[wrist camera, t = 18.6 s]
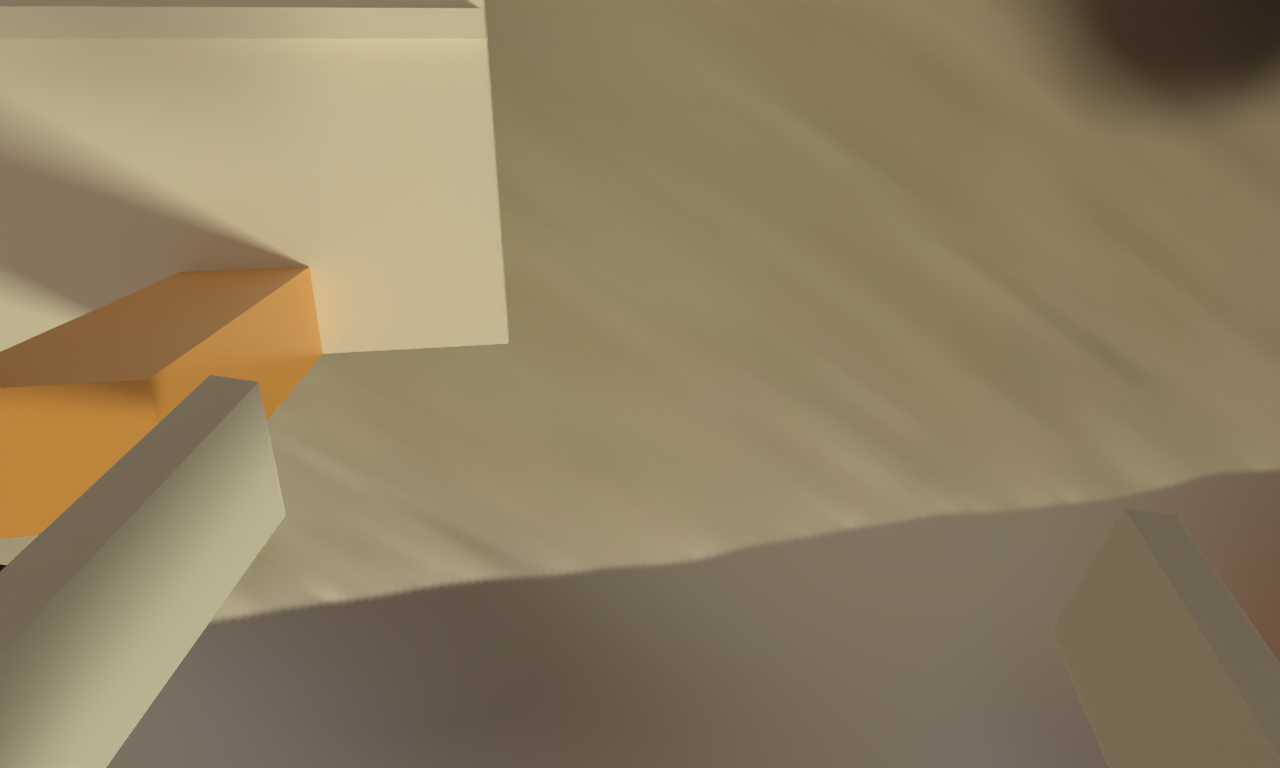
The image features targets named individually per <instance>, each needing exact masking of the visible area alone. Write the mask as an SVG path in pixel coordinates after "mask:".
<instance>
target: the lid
mask: <svg viewBox="0 0 1280 768" xmlns="http://www.w3.org/2000/svg"><path fill="white" fill-rule="evenodd" d="M491 344H509V327H508V314H507V300H506V286H505V272H504V258H503V244H502V231H501V217H500V203H499V189H498V175H497V161H496V147H495V134H494V120H493V106H492V92H491V78H490V64H489V50H488V37H487V23H486V9H485V0H0V538H11V537H23V536H35V535H40V534H41V533H42V532H43V531H44V530H45V529H46V528H47V527H48V526H49V525H51V524H52V523H53V522H54V521H55V520H56V519H57V518H58V517H59V516H60V515H61V514H62V513H63V512H64V511H65V510H67V509H68V508H69V507H70V506H71V505H72V504H73V503H74V502H75V501H76V500H77V499H78V498H79V497H80V496H81V495H83V494H84V493H85V492H86V491H87V490H88V489H89V488H90V487H91V486H92V485H93V484H94V483H95V482H96V481H97V480H99V479H100V478H101V477H102V476H103V475H104V474H105V473H106V472H107V471H108V470H109V469H110V468H111V467H112V466H114V465H115V464H116V463H117V462H118V461H119V460H120V459H121V458H122V457H123V456H124V455H125V454H126V453H127V452H128V451H130V450H131V449H132V448H133V447H134V446H135V445H136V444H137V443H138V442H139V441H140V440H141V439H142V438H143V437H144V436H146V435H147V434H148V433H149V432H150V431H151V430H152V429H153V428H154V427H155V426H156V425H157V424H158V423H159V422H160V421H162V420H163V419H164V418H165V417H166V416H167V415H168V414H169V413H170V412H171V411H172V410H173V409H174V408H175V407H176V406H178V405H179V404H180V403H181V402H182V401H183V400H184V399H185V398H186V397H187V396H188V395H189V394H190V393H191V392H192V391H194V390H195V389H196V388H197V387H198V386H199V385H200V384H201V383H202V382H203V381H204V380H205V379H206V378H207V377H208V376H210V375H214V376H221V377H227V378H234V379H241V380H248V381H255V382H259V385H260V390H261V395H262V400H263V405H264V410H265V415H266V420H268V419H269V418H270V417H271V415H272V414H273V413H274V412H275V411H276V409H277V408H278V407H279V406H280V405H281V403H282V402H283V401H284V400H285V399H286V397H287V396H288V395H289V394H290V393H291V391H292V390H293V389H294V388H295V387H296V385H297V384H298V383H299V382H300V381H301V379H302V378H303V377H304V376H305V375H306V373H307V372H308V371H309V370H310V369H311V367H312V366H313V365H314V364H315V363H316V361H317V360H318V359H319V358H320V356H321V355H322V354H328V353H346V352H364V351H382V350H400V349H418V348H436V347H455V346H473V345H491Z"/></svg>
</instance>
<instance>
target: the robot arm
mask: <svg viewBox="0 0 1280 768" xmlns="http://www.w3.org/2000/svg"><path fill="white" fill-rule="evenodd" d="M285 515H286V513H285V509H284V504H283V499H282V494H281V489H280V484H279V479H278V474H277V469H276V464H275V459H274V454H273V449H272V444H271V439H270V435H269V430H268V425H267V420H266V415H265V410H264V405H263V400H262V395H261V390H260V385H259V382H255V381H248V380H241V379H234V378H227V377H221V376H214V375H210V376H208V377H207V378H206V379H205V380H204V381H203V382H202V383H201V384H200V385H199V386H198V387H197V388H196V389H195V390H194V391H192V392H191V393H190V394H189V395H188V396H187V397H186V398H185V399H184V400H183V401H182V402H181V403H180V404H179V405H178V406H176V407H175V408H174V409H173V410H172V411H171V412H170V413H169V414H168V415H167V416H166V417H165V418H164V419H163V420H162V421H160V422H159V423H158V424H157V425H156V426H155V427H154V428H153V429H152V430H151V431H150V432H149V433H148V434H147V435H146V436H144V437H143V438H142V439H141V440H140V441H139V442H138V443H137V444H136V445H135V446H134V447H133V448H132V449H131V450H130V451H128V452H127V453H126V454H125V455H124V456H123V457H122V458H121V459H120V460H119V461H118V462H117V463H116V464H115V465H114V466H112V467H111V468H110V469H109V470H108V471H107V472H106V473H105V474H104V475H103V476H102V477H101V478H100V479H99V480H97V481H96V482H95V483H94V484H93V485H92V486H91V487H90V488H89V489H88V490H87V491H86V492H85V493H84V494H83V495H81V496H80V497H79V498H78V499H77V500H76V501H75V502H74V503H73V504H72V505H71V506H70V507H69V508H68V509H67V510H65V511H64V512H63V513H62V514H61V515H60V516H59V517H58V518H57V519H56V520H55V521H54V522H53V523H52V524H51V525H49V526H48V527H47V528H46V529H45V530H44V531H43V532H42V533H41V534H40V535H39V536H38V537H37V538H36V539H35V540H33V541H32V542H31V543H30V544H29V545H28V546H27V547H26V548H25V549H24V550H23V551H22V552H21V553H20V554H19V555H17V556H16V557H15V558H14V559H13V560H12V561H11V562H10V563H9V564H8V565H7V566H6V565H0V768H106V767H107V766H108V764H109V763H110V761H111V760H112V759H113V757H114V756H115V754H116V753H117V752H118V750H119V749H120V747H121V746H122V744H123V743H124V742H125V740H126V739H127V737H128V736H129V735H130V733H131V732H132V730H133V729H134V728H135V726H136V725H137V723H138V722H139V721H140V719H141V717H142V716H143V715H144V714H145V712H146V711H147V709H148V708H149V707H150V705H151V704H152V702H153V701H154V699H155V698H156V697H157V695H158V694H159V692H160V691H161V690H162V688H163V687H164V685H165V684H166V682H167V681H168V680H169V678H170V677H171V676H172V674H173V673H174V671H175V670H176V668H177V667H178V666H179V664H180V663H181V662H182V660H183V659H184V657H185V656H186V654H187V653H188V652H189V650H190V649H191V647H192V646H193V645H194V643H195V642H196V640H197V639H198V638H199V636H200V635H201V633H202V632H203V631H204V629H205V627H206V626H207V625H208V624H209V622H210V621H211V619H212V618H213V617H214V615H215V614H216V612H217V611H218V609H219V608H220V607H221V605H222V604H223V602H224V601H225V600H226V598H227V597H228V595H229V594H230V593H231V591H232V590H233V588H234V587H235V586H236V584H237V583H238V581H239V580H240V579H241V577H242V576H243V574H244V573H245V571H246V570H247V569H248V567H249V566H250V564H251V563H252V562H253V560H254V559H255V557H256V556H257V555H258V553H259V552H260V550H261V549H262V548H263V546H264V545H265V543H266V542H267V541H268V539H269V538H270V536H271V535H272V534H273V532H274V531H275V529H276V528H277V526H278V525H279V524H280V522H281V521H282V519H283V518H284V517H285ZM1051 632H1052V635H1053V637H1054V639H1055V642H1056V644H1057V646H1058V649H1059V651H1060V653H1061V656H1062V658H1063V661H1064V663H1065V665H1066V667H1067V670H1068V672H1069V675H1070V677H1071V679H1072V682H1073V684H1074V687H1075V689H1076V691H1077V694H1078V696H1079V698H1080V701H1081V703H1082V705H1083V708H1084V710H1085V712H1086V715H1087V717H1088V720H1089V722H1090V724H1091V727H1092V729H1093V731H1094V733H1095V736H1096V739H1097V741H1098V743H1099V746H1100V748H1101V750H1102V753H1103V755H1104V757H1105V760H1106V762H1107V764H1108V767H1109V768H1280V663H1279V662H1278V660H1277V659H1276V657H1275V656H1274V655H1273V653H1272V652H1271V651H1270V649H1269V647H1268V646H1267V645H1266V643H1265V642H1264V640H1263V639H1262V637H1261V636H1260V635H1259V633H1258V632H1257V630H1256V629H1255V628H1254V626H1253V625H1252V623H1251V622H1250V620H1249V619H1248V617H1247V616H1246V614H1245V613H1244V612H1243V610H1242V609H1241V607H1240V606H1239V604H1238V603H1237V602H1236V600H1235V599H1234V597H1233V596H1232V594H1231V593H1230V592H1229V590H1228V589H1227V587H1226V586H1225V585H1224V583H1223V582H1222V580H1221V579H1220V577H1219V576H1218V575H1217V573H1216V572H1215V570H1214V569H1213V567H1212V566H1211V564H1210V563H1209V562H1208V560H1207V559H1206V557H1205V556H1204V554H1203V553H1202V552H1201V550H1200V549H1199V547H1198V546H1197V545H1196V543H1195V541H1194V540H1193V539H1192V537H1191V536H1190V534H1189V533H1188V531H1187V530H1186V529H1185V527H1184V526H1183V524H1182V523H1181V522H1180V520H1179V519H1178V517H1177V516H1174V515H1168V514H1161V513H1154V512H1147V511H1140V510H1133V509H1127V508H1124V509H1123V511H1122V513H1121V514H1120V516H1119V518H1118V520H1117V521H1116V523H1115V524H1114V526H1113V528H1112V529H1111V531H1110V533H1109V534H1108V536H1107V538H1106V539H1105V541H1104V543H1103V544H1102V546H1101V548H1100V549H1099V551H1098V553H1097V554H1096V556H1095V557H1094V559H1093V561H1092V562H1091V564H1090V566H1089V567H1088V569H1087V571H1086V572H1085V574H1084V576H1083V577H1082V579H1081V581H1080V582H1079V584H1078V586H1077V587H1076V589H1075V591H1074V592H1073V594H1072V595H1071V597H1070V599H1069V601H1068V602H1067V604H1066V605H1065V607H1064V609H1063V611H1062V612H1061V614H1060V615H1059V617H1058V619H1057V621H1056V622H1055V624H1054V626H1053V627H1052V629H1051Z"/></svg>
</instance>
